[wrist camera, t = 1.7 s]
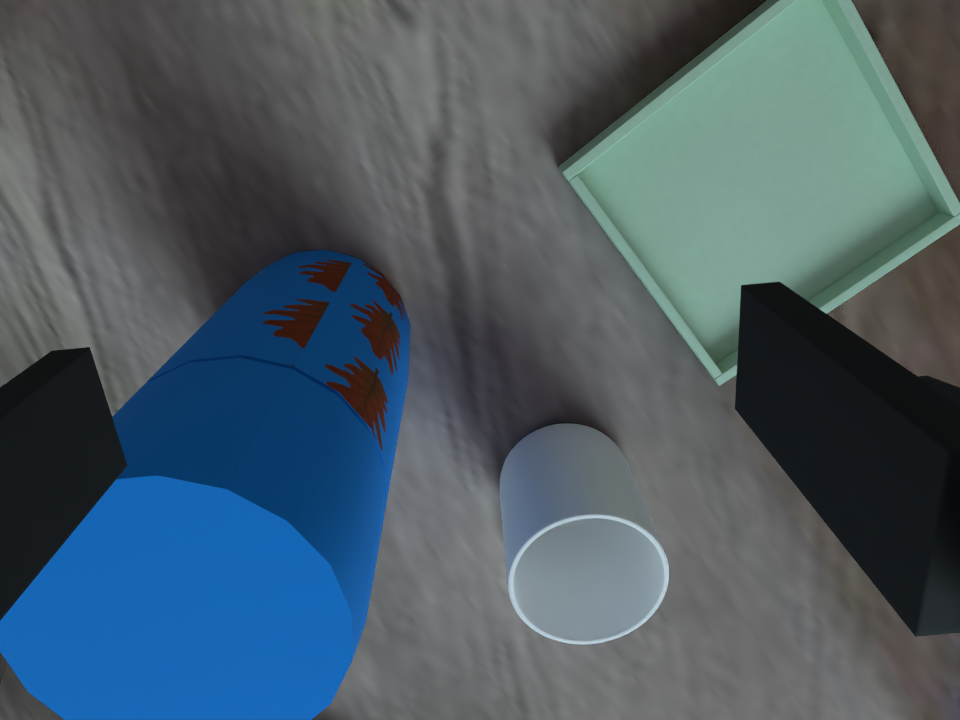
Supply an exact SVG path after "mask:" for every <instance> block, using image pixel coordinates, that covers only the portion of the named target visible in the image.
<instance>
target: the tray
mask: <svg viewBox="0 0 960 720" xmlns="http://www.w3.org/2000/svg"><path fill="white" fill-rule="evenodd" d="M558 169H559V171H560V172H561V174H562V175H563V176H564V178H565V179H566V180H567V182H568V183H569V184H570V186H571V187H572V188H573V190H574V191H575V193H576V194H577V195H578V197H579V198H580V199H581V201H582V202H583V203H584V205H585V206H586V207H587V209H588V210H589V211H590V213H591V214H592V216H593V217H594V218H595V220H596V221H597V222H598V224H599V225H600V226H601V228H602V229H603V230H604V232H605V233H606V235H607V236H608V237H609V239H610V240H611V241H612V243H613V244H614V245H615V247H616V248H617V249H618V251H619V252H620V254H621V255H622V256H623V258H624V259H625V260H626V262H627V263H628V264H629V266H630V267H631V268H632V270H633V271H634V272H635V274H636V275H637V277H638V278H639V279H640V281H641V282H642V283H643V285H644V286H645V287H646V289H647V290H648V291H649V293H650V294H651V296H652V297H653V298H654V300H655V301H656V302H657V304H658V305H659V306H660V308H661V309H662V310H663V312H664V313H665V315H666V316H667V317H668V319H669V320H670V321H671V323H672V324H673V325H674V327H675V328H676V329H677V331H678V332H679V333H680V335H681V336H682V338H683V339H684V340H685V342H686V343H687V344H688V346H689V347H690V348H691V350H692V351H693V352H694V354H695V355H696V357H697V358H698V359H699V361H700V362H701V363H702V365H703V366H704V367H705V369H706V370H707V371H708V373H709V374H710V375H711V377H712V378H713V379H714V380H715V382H716V383H717V384H718V385H719V386H720V385H721V384H723V383H724V382H726V381H727V380H729V379H730V378H732V377H733V376H735V375H736V374H737V359H738V339H739V318H740V298H741V285H748V284H759V283H769V282H781V283H782V284H784V285H785V286H787V287H788V288H790V289H791V290H793V291H794V292H795V293H797V294H798V295H800V296H801V297H803V298H804V299H806V300H807V301H808V302H810V303H811V304H813V305H814V306H816V307H817V308H819V309H820V310H822V311H823V312H824V313H826V314H827V313H828V312H830V311H831V310H833V309H834V308H836V307H837V306H839V305H840V304H842V303H843V302H845V301H846V300H848V299H849V298H851V297H852V296H854V295H855V294H857V293H858V292H860V291H861V290H863V289H864V288H865V287H867V286H868V285H870V284H871V283H873V282H874V281H876V280H877V279H879V278H880V277H882V276H883V275H885V274H886V273H888V272H889V271H891V270H892V269H894V268H895V267H897V266H898V265H900V264H901V263H903V262H904V261H906V260H907V259H909V258H910V257H912V256H913V255H914V254H916V253H917V252H919V251H920V250H922V249H923V248H925V247H926V246H928V245H929V244H931V243H932V242H934V241H935V240H937V239H938V238H940V237H941V236H943V235H944V234H946V233H947V232H949V231H950V230H952V229H953V228H955V227H956V226H958V225H959V224H960V203H959V201H958V199H957V197H956V195H955V193H954V192H953V190H952V188H951V186H950V184H949V182H948V180H947V178H946V177H945V175H944V173H943V171H942V169H941V167H940V165H939V163H938V162H937V160H936V158H935V156H934V154H933V152H932V150H931V148H930V147H929V145H928V143H927V141H926V139H925V137H924V135H923V133H922V132H921V130H920V128H919V126H918V124H917V122H916V120H915V118H914V117H913V115H912V113H911V111H910V109H909V107H908V105H907V103H906V102H905V100H904V98H903V96H902V94H901V92H900V90H899V88H898V87H897V85H896V83H895V81H894V79H893V77H892V75H891V73H890V72H889V70H888V68H887V66H886V64H885V62H884V60H883V58H882V57H881V55H880V53H879V51H878V49H877V47H876V45H875V43H874V42H873V40H872V38H871V36H870V34H869V32H868V30H867V28H866V27H865V25H864V23H863V21H862V19H861V17H860V15H859V13H858V12H857V10H856V8H855V6H854V4H853V2H852V0H767V1H765V2H764V3H763V4H762V5H760V6H759V7H758V8H757V9H755V10H754V11H753V12H752V13H750V14H749V15H748V16H747V17H745V18H744V19H743V20H742V21H740V22H739V23H738V24H737V25H735V26H734V27H733V28H732V29H730V30H729V31H728V32H727V33H725V34H724V35H723V36H721V37H720V38H719V39H718V40H716V41H715V42H714V43H713V44H711V45H710V46H709V47H708V48H706V49H705V50H704V51H703V52H701V53H700V54H699V55H698V56H696V57H695V58H694V59H693V60H691V61H690V62H689V63H688V64H686V65H685V66H684V67H683V68H681V69H680V70H679V71H678V72H676V73H675V74H674V75H673V76H671V77H670V78H669V79H668V80H666V81H665V82H664V83H663V84H661V85H660V86H659V87H658V88H656V89H655V90H654V91H653V92H651V93H650V94H649V95H647V96H646V97H645V98H644V99H642V100H641V101H640V102H639V103H637V104H636V105H635V106H634V107H632V108H631V109H630V110H629V111H627V112H626V113H625V114H624V115H622V116H621V117H620V118H619V119H617V120H616V121H615V122H614V123H612V124H611V125H610V126H609V127H607V128H606V129H605V130H604V131H602V132H601V133H600V134H599V135H597V136H596V137H595V138H594V139H592V140H591V141H590V142H589V143H587V144H586V145H585V146H584V147H582V148H581V149H580V150H579V151H577V152H576V153H575V154H573V155H572V156H571V157H570V158H568V159H567V160H566V161H565V162H563V163H562V164H561V165H560V166H558Z"/></svg>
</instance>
